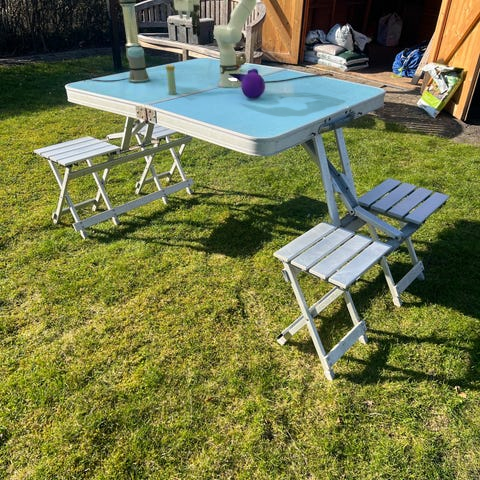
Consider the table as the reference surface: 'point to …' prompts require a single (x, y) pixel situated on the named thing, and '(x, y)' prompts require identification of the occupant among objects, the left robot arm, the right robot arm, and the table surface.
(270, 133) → the table surface
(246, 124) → the table surface
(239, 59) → the beige patterned figurine
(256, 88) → the toy
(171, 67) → the lid
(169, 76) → the jar
